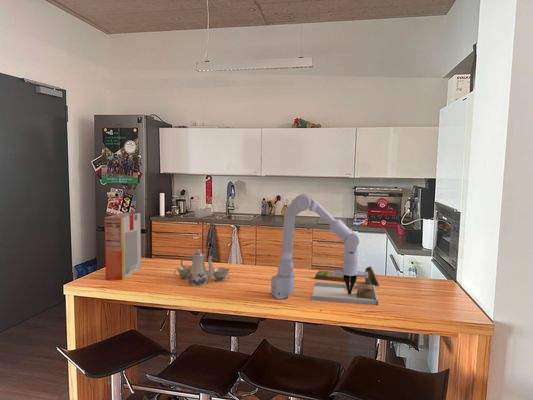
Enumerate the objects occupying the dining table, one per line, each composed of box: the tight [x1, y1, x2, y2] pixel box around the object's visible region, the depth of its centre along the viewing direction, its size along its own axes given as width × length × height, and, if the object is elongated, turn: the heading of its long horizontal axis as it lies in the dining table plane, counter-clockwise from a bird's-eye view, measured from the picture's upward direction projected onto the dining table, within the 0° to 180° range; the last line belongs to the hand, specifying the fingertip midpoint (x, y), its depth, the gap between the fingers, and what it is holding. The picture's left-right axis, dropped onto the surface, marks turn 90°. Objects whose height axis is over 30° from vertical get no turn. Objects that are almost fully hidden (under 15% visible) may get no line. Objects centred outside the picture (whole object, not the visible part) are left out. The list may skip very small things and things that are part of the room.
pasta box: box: [104, 211, 142, 281], centre depth 192 cm, size 23×8×30 cm, turn 176°
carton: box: [314, 270, 350, 283], centre depth 183 cm, size 8×16×4 cm, turn 71°
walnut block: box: [356, 283, 373, 299], centre depth 157 cm, size 6×6×4 cm
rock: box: [364, 265, 380, 287], centre depth 177 cm, size 11×9×10 cm
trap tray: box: [310, 281, 379, 306], centre depth 159 cm, size 26×20×4 cm
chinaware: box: [174, 248, 230, 287], centre depth 181 cm, size 28×17×17 cm, turn 86°
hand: (349, 293), depth 159 cm, fingers closed
